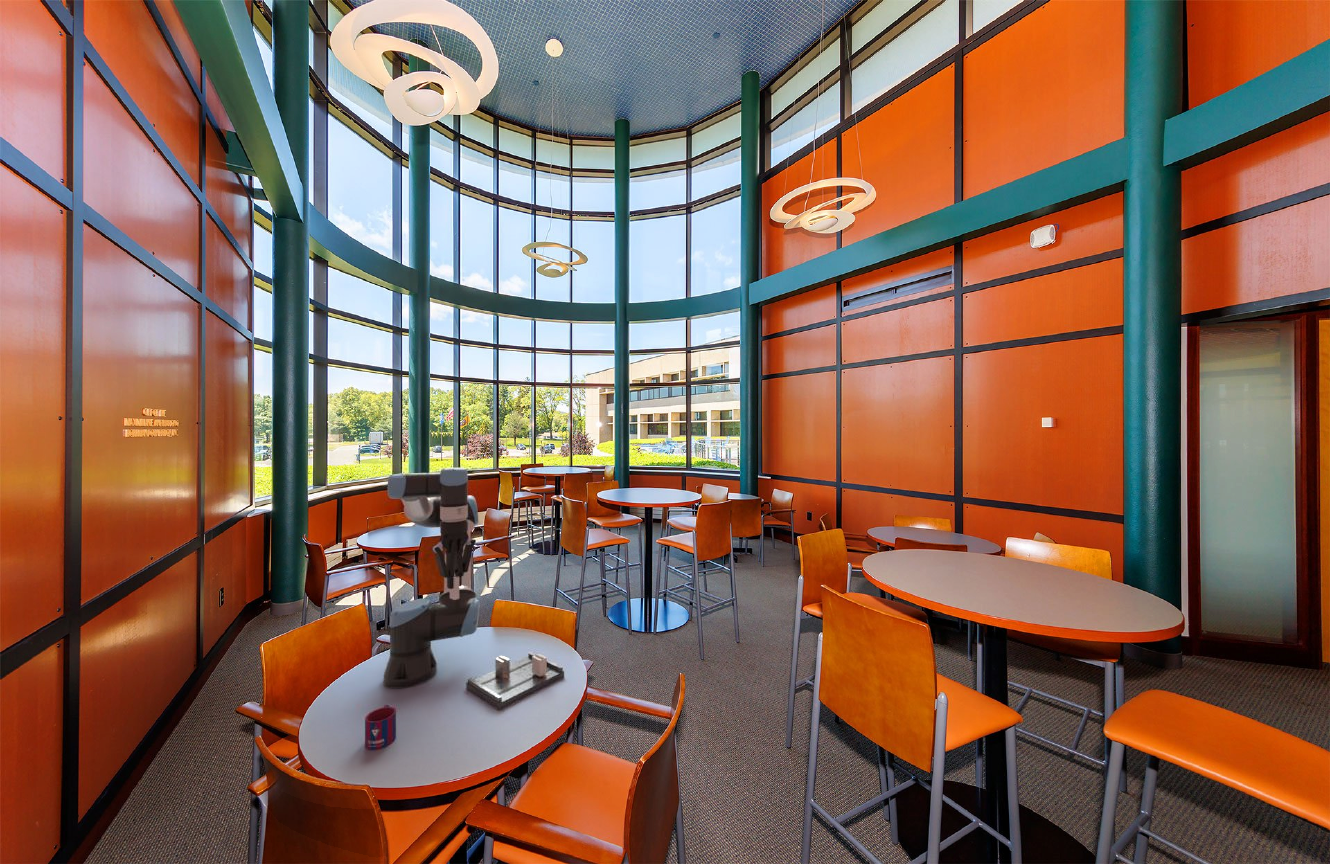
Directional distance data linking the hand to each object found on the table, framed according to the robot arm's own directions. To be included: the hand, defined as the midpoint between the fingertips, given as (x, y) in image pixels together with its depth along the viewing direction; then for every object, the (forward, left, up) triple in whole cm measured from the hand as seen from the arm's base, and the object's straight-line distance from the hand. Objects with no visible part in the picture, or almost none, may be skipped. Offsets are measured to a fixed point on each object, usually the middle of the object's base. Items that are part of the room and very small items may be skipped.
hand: (454, 598), depth 139 cm
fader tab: (+13, +21, -26) cm, 36 cm away
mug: (+5, -21, -29) cm, 36 cm away
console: (+9, +15, -29) cm, 34 cm away
